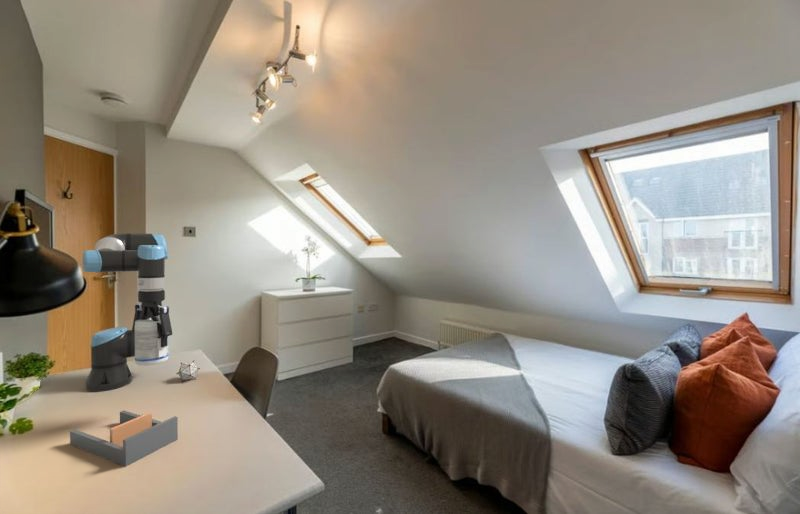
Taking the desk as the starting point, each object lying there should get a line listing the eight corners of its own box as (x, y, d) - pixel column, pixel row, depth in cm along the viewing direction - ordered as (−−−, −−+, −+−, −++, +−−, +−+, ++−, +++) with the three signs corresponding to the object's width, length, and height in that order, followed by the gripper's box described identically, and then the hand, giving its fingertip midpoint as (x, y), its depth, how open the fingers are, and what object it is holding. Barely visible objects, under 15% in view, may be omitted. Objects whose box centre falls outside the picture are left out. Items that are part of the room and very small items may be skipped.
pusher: (110, 453, 99) (109, 428, 99) (149, 434, 109) (149, 412, 109) (119, 456, 98) (119, 432, 98) (158, 437, 108) (158, 415, 108)
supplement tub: (168, 363, 120) (168, 320, 119) (133, 368, 114) (133, 323, 114) (168, 356, 128) (168, 315, 127) (135, 360, 122) (135, 318, 122)
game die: (182, 389, 153) (167, 372, 152) (198, 376, 161) (183, 359, 159) (193, 383, 149) (177, 365, 148) (208, 369, 157) (193, 352, 155)
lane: (70, 444, 104) (69, 421, 103) (123, 422, 117) (123, 401, 117) (125, 466, 94) (125, 440, 94) (177, 439, 107) (177, 416, 107)
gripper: (118, 289, 121) (119, 353, 121) (163, 292, 113) (163, 361, 113) (141, 287, 128) (141, 347, 128) (184, 290, 120) (185, 355, 120)
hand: (152, 354), depth 121 cm, fingers closed on supplement tub, 9 cm apart
